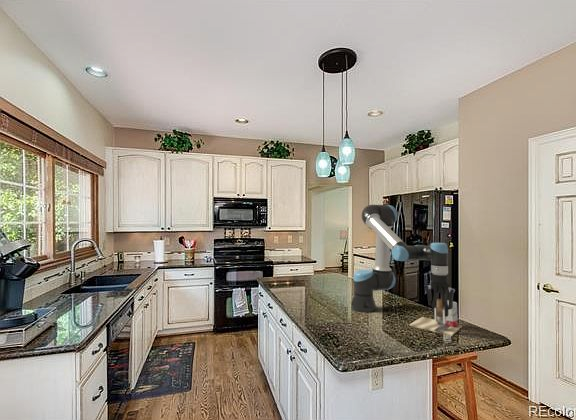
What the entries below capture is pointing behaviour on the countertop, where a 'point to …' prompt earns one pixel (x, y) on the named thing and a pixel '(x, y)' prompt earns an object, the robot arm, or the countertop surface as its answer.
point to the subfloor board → (435, 326)
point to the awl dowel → (440, 311)
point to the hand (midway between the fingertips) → (440, 321)
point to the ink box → (452, 315)
